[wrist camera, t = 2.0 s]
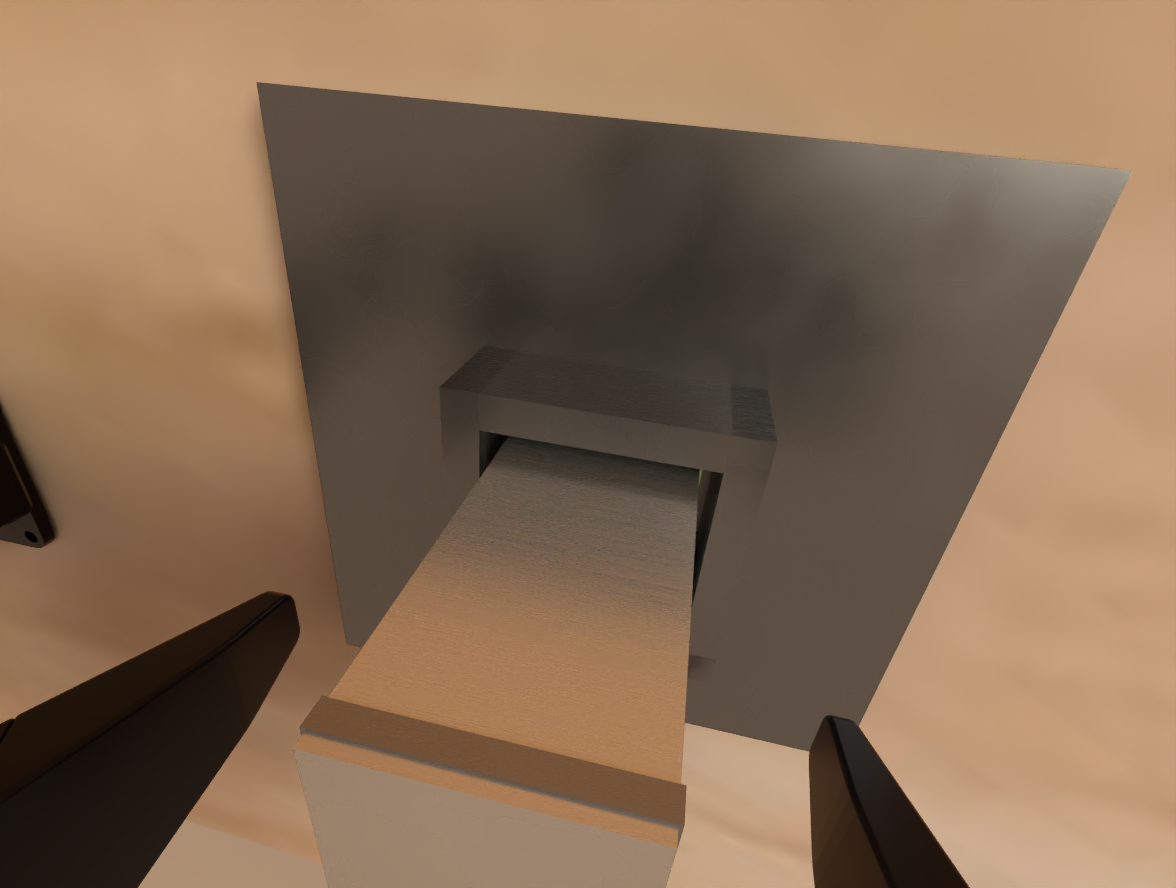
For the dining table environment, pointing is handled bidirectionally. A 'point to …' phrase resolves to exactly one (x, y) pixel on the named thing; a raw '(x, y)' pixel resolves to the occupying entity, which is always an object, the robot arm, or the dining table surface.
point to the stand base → (674, 352)
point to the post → (520, 689)
